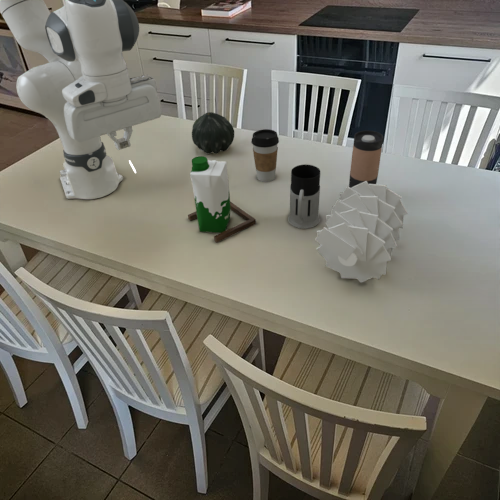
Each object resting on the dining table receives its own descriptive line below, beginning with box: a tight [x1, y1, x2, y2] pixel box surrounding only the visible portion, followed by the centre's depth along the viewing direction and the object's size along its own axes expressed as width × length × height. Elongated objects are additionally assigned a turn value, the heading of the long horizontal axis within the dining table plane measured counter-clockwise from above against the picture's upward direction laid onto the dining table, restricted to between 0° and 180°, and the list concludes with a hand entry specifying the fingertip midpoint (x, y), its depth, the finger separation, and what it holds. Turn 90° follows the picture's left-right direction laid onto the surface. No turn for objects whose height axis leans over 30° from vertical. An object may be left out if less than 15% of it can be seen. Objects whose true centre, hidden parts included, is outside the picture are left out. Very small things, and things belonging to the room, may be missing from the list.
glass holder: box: [287, 164, 321, 229], centre depth 118 cm, size 9×14×15 cm, turn 167°
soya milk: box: [189, 155, 232, 234], centre depth 118 cm, size 9×9×20 cm
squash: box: [191, 111, 235, 155], centre depth 157 cm, size 14×15×15 cm
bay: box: [187, 201, 257, 243], centre depth 125 cm, size 14×13×2 cm
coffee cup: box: [250, 128, 280, 183], centre depth 139 cm, size 8×8×15 cm
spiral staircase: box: [314, 181, 409, 284], centre depth 106 cm, size 18×18×25 cm
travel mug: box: [348, 130, 384, 188], centre depth 125 cm, size 8×8×20 cm
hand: (123, 147), depth 99 cm, fingers closed
